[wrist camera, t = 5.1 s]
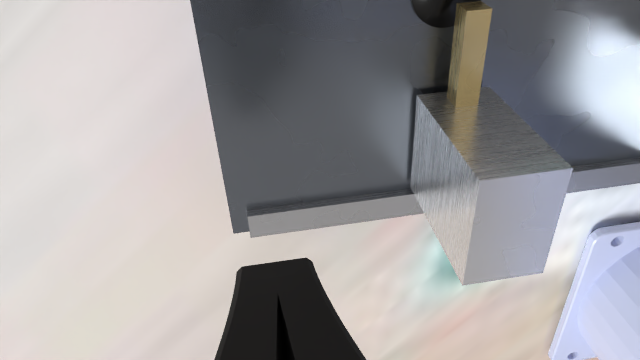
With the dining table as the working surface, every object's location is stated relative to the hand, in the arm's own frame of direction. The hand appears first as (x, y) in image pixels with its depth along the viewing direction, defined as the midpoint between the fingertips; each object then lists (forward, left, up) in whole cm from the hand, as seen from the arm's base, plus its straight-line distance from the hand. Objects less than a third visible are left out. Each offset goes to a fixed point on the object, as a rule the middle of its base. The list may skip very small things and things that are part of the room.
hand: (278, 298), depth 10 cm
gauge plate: (-7, -2, -6) cm, 9 cm away
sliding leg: (-5, -1, -5) cm, 7 cm away
